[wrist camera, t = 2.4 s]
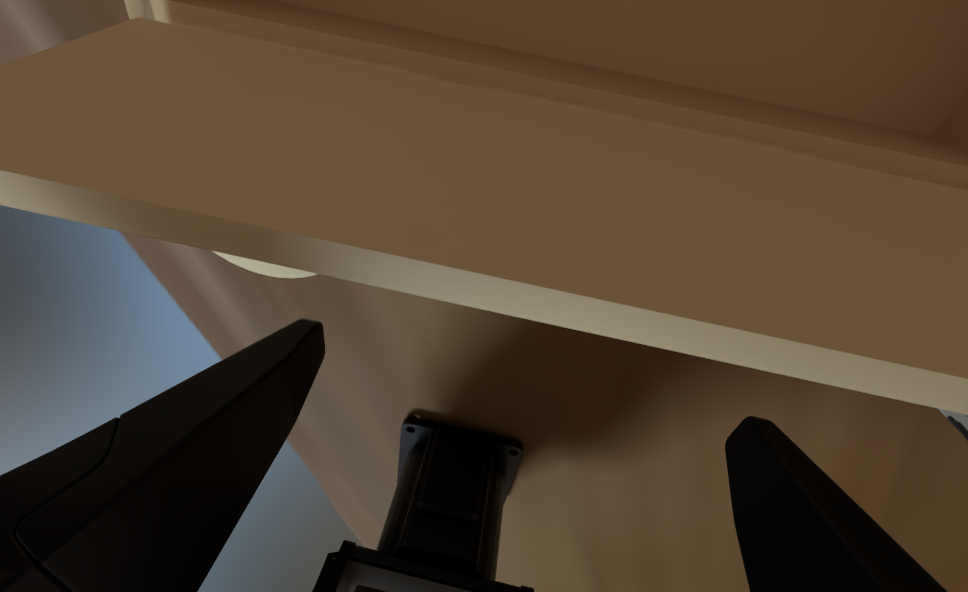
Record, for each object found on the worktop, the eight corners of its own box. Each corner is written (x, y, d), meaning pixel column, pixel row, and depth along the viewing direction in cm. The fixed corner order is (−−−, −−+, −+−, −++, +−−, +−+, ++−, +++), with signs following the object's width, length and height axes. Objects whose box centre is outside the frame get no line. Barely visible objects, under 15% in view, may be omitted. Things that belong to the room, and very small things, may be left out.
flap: (1056, 208, 8) (1023, 232, 9) (137, 17, 9) (150, 49, 9) (1414, 475, 5) (1329, 493, 5) (-183, 130, 5) (-137, 175, 5)
